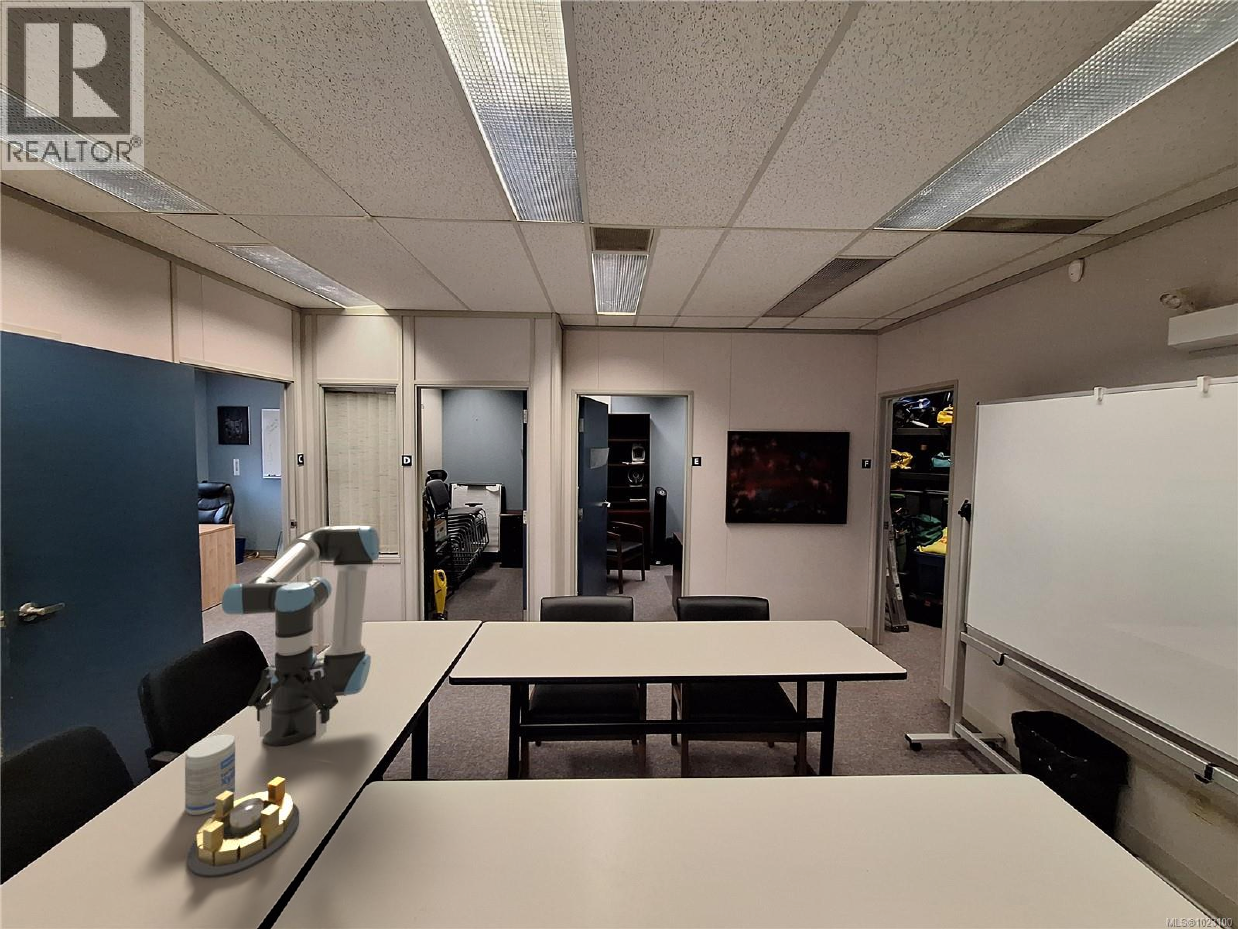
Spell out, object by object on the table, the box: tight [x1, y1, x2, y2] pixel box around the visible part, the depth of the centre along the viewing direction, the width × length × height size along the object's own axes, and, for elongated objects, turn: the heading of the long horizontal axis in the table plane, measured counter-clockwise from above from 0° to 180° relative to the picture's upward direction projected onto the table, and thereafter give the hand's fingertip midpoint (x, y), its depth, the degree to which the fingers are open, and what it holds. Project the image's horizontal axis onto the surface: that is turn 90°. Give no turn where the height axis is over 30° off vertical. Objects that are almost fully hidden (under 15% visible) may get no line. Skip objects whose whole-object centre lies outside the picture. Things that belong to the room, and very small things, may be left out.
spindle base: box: [187, 798, 300, 878], centre depth 106 cm, size 20×20×7 cm
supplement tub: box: [184, 734, 236, 816], centre depth 115 cm, size 10×10×15 cm
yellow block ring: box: [196, 776, 293, 866], centre depth 106 cm, size 17×17×7 cm
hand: (293, 734), depth 111 cm, fingers open, 13 cm apart
